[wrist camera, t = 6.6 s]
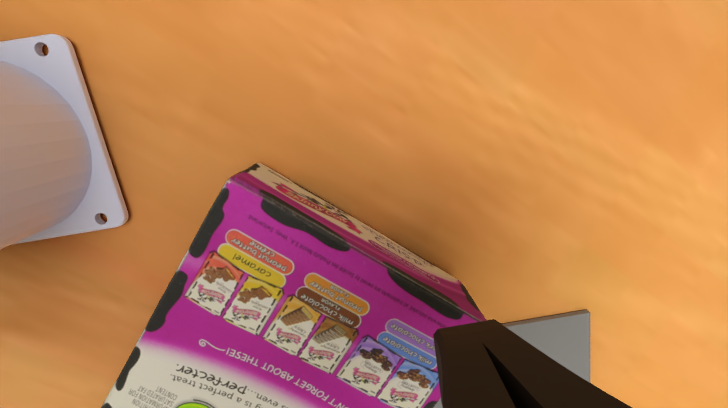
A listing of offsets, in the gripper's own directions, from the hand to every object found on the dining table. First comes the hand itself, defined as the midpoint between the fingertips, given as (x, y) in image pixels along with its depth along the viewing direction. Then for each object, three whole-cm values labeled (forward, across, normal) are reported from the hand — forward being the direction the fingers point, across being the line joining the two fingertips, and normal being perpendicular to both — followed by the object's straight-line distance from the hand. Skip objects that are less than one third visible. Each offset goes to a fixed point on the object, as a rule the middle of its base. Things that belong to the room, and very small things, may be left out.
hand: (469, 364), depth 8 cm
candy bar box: (+8, +2, 0) cm, 8 cm away
